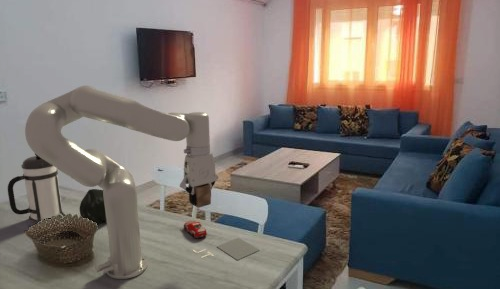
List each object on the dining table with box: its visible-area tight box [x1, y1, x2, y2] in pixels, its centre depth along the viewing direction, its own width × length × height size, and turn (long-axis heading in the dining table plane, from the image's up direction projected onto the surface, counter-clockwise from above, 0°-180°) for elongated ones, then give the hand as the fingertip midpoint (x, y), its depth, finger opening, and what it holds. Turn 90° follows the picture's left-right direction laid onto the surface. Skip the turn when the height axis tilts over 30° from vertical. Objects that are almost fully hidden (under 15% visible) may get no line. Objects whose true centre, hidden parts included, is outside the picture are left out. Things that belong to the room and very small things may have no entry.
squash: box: [79, 188, 107, 225], centre depth 155 cm, size 14×15×15 cm
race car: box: [183, 220, 208, 239], centre depth 143 cm, size 13×5×4 cm, turn 32°
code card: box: [192, 248, 215, 259], centre depth 129 cm, size 9×12×1 cm
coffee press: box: [7, 153, 66, 224], centre depth 153 cm, size 17×16×30 cm
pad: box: [216, 237, 260, 261], centre depth 131 cm, size 10×12×1 cm
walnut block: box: [189, 184, 212, 209], centre depth 124 cm, size 5×5×7 cm
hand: (200, 201), depth 124 cm, fingers closed on walnut block, 5 cm apart
